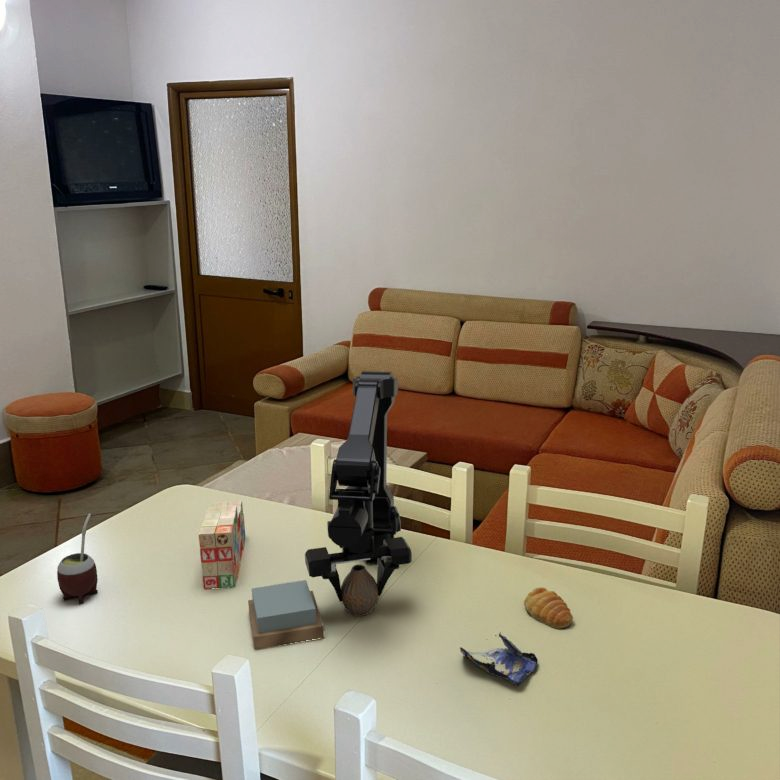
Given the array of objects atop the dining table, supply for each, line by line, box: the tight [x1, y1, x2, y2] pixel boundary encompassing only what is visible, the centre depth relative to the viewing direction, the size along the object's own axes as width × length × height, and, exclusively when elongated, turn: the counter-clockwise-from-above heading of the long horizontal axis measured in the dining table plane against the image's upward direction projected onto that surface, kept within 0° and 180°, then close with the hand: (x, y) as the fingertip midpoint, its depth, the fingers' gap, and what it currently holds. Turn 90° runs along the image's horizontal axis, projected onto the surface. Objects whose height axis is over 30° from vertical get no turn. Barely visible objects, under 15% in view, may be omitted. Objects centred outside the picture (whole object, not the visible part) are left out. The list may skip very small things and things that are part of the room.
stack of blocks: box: [198, 499, 246, 590], centre depth 158 cm, size 21×6×12 cm, turn 5°
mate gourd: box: [56, 513, 99, 606], centre depth 146 cm, size 8×8×15 cm
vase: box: [341, 564, 379, 617], centre depth 140 cm, size 7×7×9 cm
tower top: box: [251, 579, 316, 633], centre depth 136 cm, size 10×10×3 cm
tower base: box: [248, 590, 325, 650], centre depth 137 cm, size 12×12×3 cm
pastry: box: [523, 586, 574, 630], centre depth 138 cm, size 9×7×4 cm
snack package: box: [459, 631, 539, 687], centre depth 124 cm, size 12×6×12 cm
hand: (359, 597), depth 141 cm, fingers closed on vase, 7 cm apart
